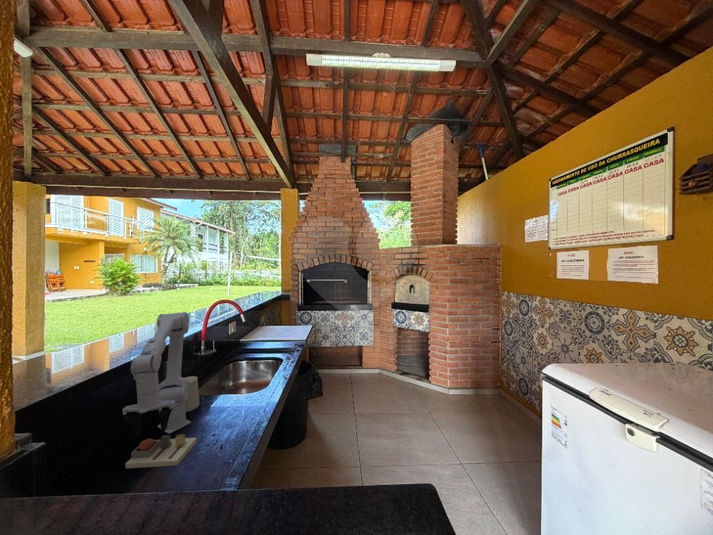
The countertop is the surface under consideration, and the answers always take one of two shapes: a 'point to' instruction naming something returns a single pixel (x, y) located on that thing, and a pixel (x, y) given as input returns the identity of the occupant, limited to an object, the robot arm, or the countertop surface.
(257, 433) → the countertop surface
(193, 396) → the cup
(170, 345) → the robot arm
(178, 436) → the yellow slider knob
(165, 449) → the panel
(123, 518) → the countertop surface
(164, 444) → the grey slider knob
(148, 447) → the red button
